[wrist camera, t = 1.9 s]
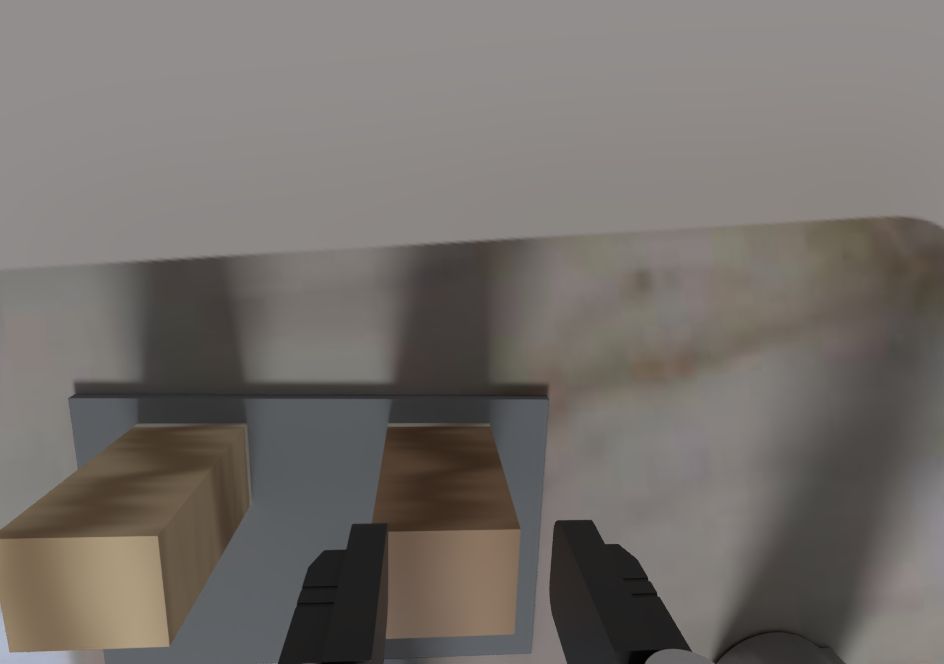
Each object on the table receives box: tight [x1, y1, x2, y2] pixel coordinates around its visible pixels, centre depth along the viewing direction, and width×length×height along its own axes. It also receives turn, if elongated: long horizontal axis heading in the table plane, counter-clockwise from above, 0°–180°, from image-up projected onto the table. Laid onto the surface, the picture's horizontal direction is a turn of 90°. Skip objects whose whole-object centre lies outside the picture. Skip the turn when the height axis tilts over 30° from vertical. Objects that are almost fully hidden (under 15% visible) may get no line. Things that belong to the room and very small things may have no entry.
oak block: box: [0, 423, 252, 652], centre depth 27 cm, size 6×5×11 cm
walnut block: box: [372, 423, 521, 639], centre depth 28 cm, size 6×5×11 cm
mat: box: [68, 395, 549, 664], centre depth 34 cm, size 27×18×1 cm, turn 88°
